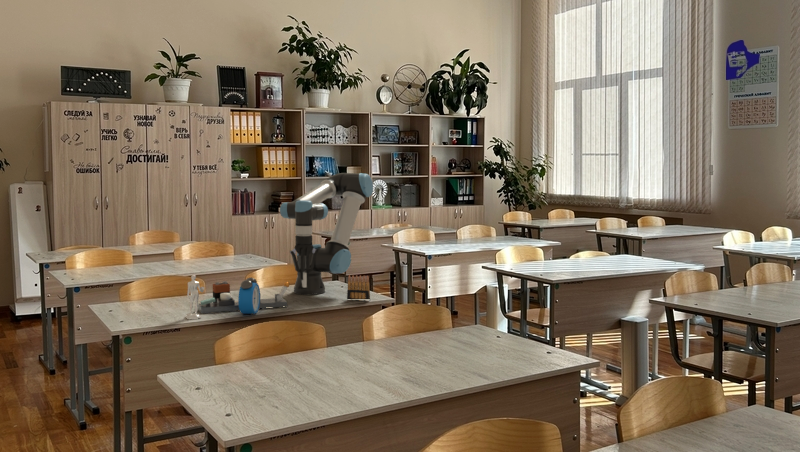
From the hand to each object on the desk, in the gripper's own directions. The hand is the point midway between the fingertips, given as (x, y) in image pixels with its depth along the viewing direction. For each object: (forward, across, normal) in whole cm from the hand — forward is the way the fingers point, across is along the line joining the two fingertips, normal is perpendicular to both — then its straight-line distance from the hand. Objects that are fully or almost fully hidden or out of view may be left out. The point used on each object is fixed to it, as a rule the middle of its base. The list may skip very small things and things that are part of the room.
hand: (304, 286), depth 332 cm
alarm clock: (+8, +27, +12) cm, 30 cm away
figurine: (+8, +49, +11) cm, 51 cm away
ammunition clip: (+8, -25, +2) cm, 26 cm away
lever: (+5, +12, 0) cm, 13 cm away
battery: (+8, +35, -13) cm, 38 cm away
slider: (+5, +20, -2) cm, 21 cm away
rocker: (+4, +42, 0) cm, 43 cm away
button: (+4, +35, 0) cm, 35 cm away
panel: (+8, +27, 0) cm, 28 cm away
